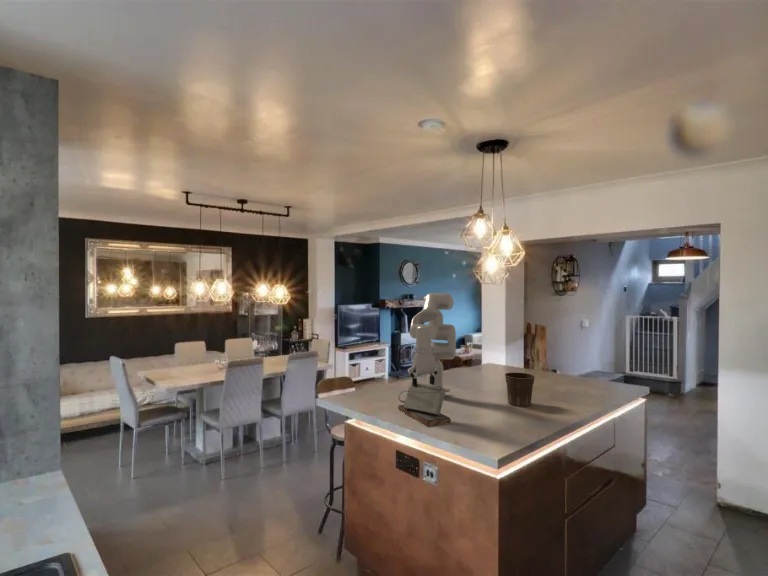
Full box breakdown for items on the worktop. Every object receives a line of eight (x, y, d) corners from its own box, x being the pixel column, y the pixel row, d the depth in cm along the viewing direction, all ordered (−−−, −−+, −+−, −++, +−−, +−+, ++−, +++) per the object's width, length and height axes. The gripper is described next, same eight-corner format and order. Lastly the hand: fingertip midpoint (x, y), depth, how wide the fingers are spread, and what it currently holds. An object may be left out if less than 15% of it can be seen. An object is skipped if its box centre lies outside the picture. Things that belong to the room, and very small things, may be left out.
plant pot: (536, 409, 233) (537, 378, 233) (505, 407, 237) (505, 377, 237) (532, 401, 249) (533, 373, 249) (503, 399, 252) (503, 371, 253)
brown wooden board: (419, 407, 234) (420, 402, 234) (450, 423, 207) (450, 417, 207) (398, 409, 229) (398, 405, 229) (426, 426, 202) (426, 420, 202)
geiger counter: (447, 388, 216) (406, 381, 231) (441, 384, 211) (400, 377, 227) (441, 416, 211) (399, 407, 226) (434, 412, 206) (392, 403, 222)
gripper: (434, 348, 225) (434, 382, 225) (404, 350, 218) (404, 385, 218) (442, 351, 218) (442, 385, 218) (411, 353, 211) (411, 388, 211)
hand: (423, 385), depth 218 cm, fingers open, 9 cm apart
